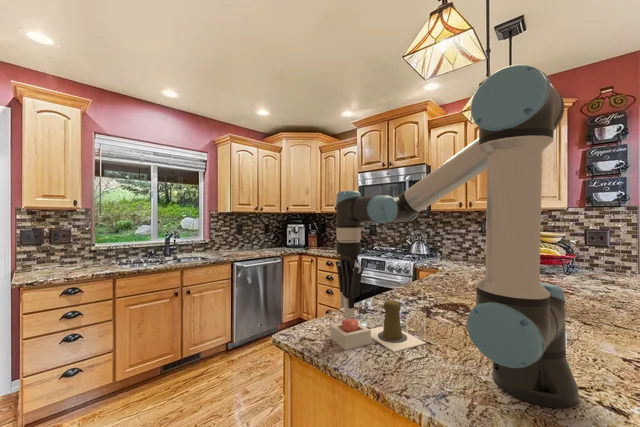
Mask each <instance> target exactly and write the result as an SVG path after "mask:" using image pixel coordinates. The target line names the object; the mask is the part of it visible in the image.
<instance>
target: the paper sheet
mask: <svg viewBox="0 0 640 427" xmlns="http://www.w3.org/2000/svg"><path fill="white" fill-rule="evenodd" d="M368 329H369V328H368ZM383 329H384V325H383V326H378V327H374V328H370V329H369V330H371V340H374V341H375V342H377V343H379V344H380V345H381V346H383V347H385V348H386V349H388V350H389V351H391V352H393V353H399V352H401V351H404V350H408V349H412V348H416V347H419V346H423V345H426V344H427V342H425V341H423V340H421V339H419V338H417V337H415V336H414V335H412V334H410V333H408V332H406V331H404V330H402V339H400V340H388V339H386V338H384V337H383Z"/></svg>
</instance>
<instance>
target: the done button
mask: <svg viewBox="0 0 640 427" xmlns="http://www.w3.org/2000/svg"><path fill="white" fill-rule="evenodd" d="M341 323H342V330H343V331H344V332H346V333H349V332H354V331H358V323H359V321H358V320H357V319H354V318H351V319H345V318H344V319H343V320H341Z"/></svg>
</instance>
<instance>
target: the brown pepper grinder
mask: <svg viewBox="0 0 640 427" xmlns="http://www.w3.org/2000/svg"><path fill="white" fill-rule="evenodd" d="M401 308H402V307H401V304H400V302H399V301H397V300H394V299H389V300H385V301H384V303H383V310H384V312H385V313H384V320H383V326H384V329H383V337H384V338H386V339H388V340H400V339H402V331H403V329H402V325H401V317H400V312H401Z"/></svg>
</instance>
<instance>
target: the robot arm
mask: <svg viewBox="0 0 640 427" xmlns="http://www.w3.org/2000/svg"><path fill="white" fill-rule="evenodd" d="M470 114H471V115H470V116H471V117H472V119H473V122H474V124H475V125H476V126H478V138H477V139H475V140H473V142H470V144H468V145H467V146H465V147H464V148H462V149H461V150H460V151H459V152H457V153H456V154H454V155H452V156H451V157H449V159H447V160H446V161H445V162H444V163H442V164H441V165H438V167H436V168H435V169H433V170H432V171H431V172H429V173H428V174H427V175H425V176H424V177H423V178H421V179H420V180H419V181H417V182H415V184H413V185H411V186H410V187H409V188H407V189H406V190H405V191H404V192H402V193H401V194H399V195H398V196H393V197H392V196H391V195H381V194H380V195H379V194H377V195H372V196H362V195H361V192H360V191H358V190H342V191H338V192H337V194H336V203H335V210H336V211H335V212H336V215H335V217H336V228H335V230H336V240H337V242H336V254H337V255H340V256H339V260H336V261H335V266H336V271H337V278H338V286H339V288H338V289H339V292H340V293H342V296H343V318H344V320H345V319H354V318H355V298H358V297H359V296H360V291H361V290H360V289H361V283H362V274H363V272H364V270H365V268H364V266H361V265H360V264H359V263H360V262H359V257H358V256H359V255H361V254H362V243H361V240H362V239H361V238H362V236H361V234H362V230H361V227H362V223H370V224H371V223H375V224H376V223H377V224H386V223H407V222H412V221H414V220H415V219H417V217H418V216H419V214H420V212H421V211H423V210H425V209H426V208H428V207H430V206H432V205H433V204H434V203H436V202H437V201H439V200H441V199H442V198H444V197H445V196H447V195H448V194H450V193H452V192H453V191H455V190H457V189H458V188H459V187H461V186H463V185H464V184H466V183H468V182H469V181H471V180H472V179H474V178H475V177H477V176H478V175H480V174H482V173H483V172H485V171H486V216H485V217H486V219H485V220H486V221H485V223H486V224H485V226H486V227H485V228H486V229H485V270H484V271H485V273H484V277H483V278H481V279H480V280H478V281H477V282H476V287H475V288H476V290H475V295H476V296H475V306H474V307H472V309H470V312H469V313H468V315H467V318H466V330H467V334H468V335H469V338H470V340H471V343H472V344H473V345H474V346H475V347H476V348H477V349H478V350H479V352H480V353H481V354H482V355H483V356H484V357H486V358H487V359H489V360H490V361H491V362H493V363H492V367H491V368H492V379H493V381H494V382H495V384H496V385H497V386H498V387H500V388H501V389H502V390H504V391H505V392H506V393H508V394H510V395H512V396H513V397H516V398H518V399H521V400H523V401H524V402H529V403H531V404H535V405H538V406H543V407H547V408H555V409H557V408H558V409H562V408H563V409H565V408H566V409H567V408H570V407H574V406H575V405H577V404H578V403H579V399H580V398H579V388H578V385H577V384H578V383H576V382H577V381H576V379H575V376H574V374H573V372H572V369H571V366H570V365H569V362H568V360H567V345H566V344H567V343H566V342H567V340H566V339H567V338H566V335H567V334H566V303H567V300H566V299H565V291H564V289H563V288H562V287H560V286H558V285H555V284H553V283H552V284H550V283H546V282H545V283H544V282H540V279H541V278H540V274H541V273H540V272H541V234H542V233H541V232H542V231H541V230H542V228H541V227H542V222H541V221H542V188H543V187H542V186H543V185H542V182H543V181H542V180H543V175H542V174H543V152H544V150H545V149H546V148H548V147H549V146H550V145H551V144H552V143H553V142H554V134H555V133H554V132H555V130H556V129H557V128H558V126H559V125H560V124H561V122H562V119H563V118H564V115H565V102H564V99H563V97H562V95H561V93H560V92H559V91H558V90H557V89H556V88H555V87H554V86H553V85H552V83H551V82H550V78H549V76H548V75H547V74H546V73H545V72H543V71H542V70H541V69H538V68H537V67H534V66H532V65H528V64H522V63H521V64H512V65H508V66H506V67H503V68H501V69H498V70H496V71H495V72H493V73H491V74H490V75H489V76H487V77H486V78H485V79H484V81H483V82H481V84H480V85H479V86H478V87H477V89H476V90H475V91H474V94H473V96H472V98H471V102H470Z"/></svg>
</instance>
